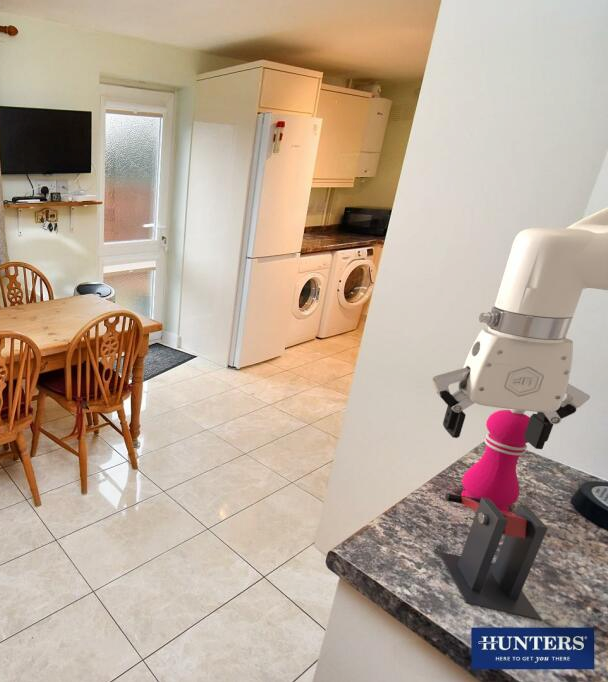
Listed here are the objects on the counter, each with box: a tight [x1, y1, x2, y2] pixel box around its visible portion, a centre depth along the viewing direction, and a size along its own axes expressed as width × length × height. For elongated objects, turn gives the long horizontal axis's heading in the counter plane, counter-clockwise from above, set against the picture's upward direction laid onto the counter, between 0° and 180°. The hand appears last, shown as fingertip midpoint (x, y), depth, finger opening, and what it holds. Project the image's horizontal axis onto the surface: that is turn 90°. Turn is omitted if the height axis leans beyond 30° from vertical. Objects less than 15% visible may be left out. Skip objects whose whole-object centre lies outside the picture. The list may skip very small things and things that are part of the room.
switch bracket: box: [437, 498, 548, 622], centre depth 58 cm, size 9×8×13 cm
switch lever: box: [444, 492, 527, 538], centre depth 62 cm, size 13×4×2 cm, turn 162°
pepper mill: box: [460, 409, 531, 512], centre depth 73 cm, size 7×7×20 cm
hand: (490, 438), depth 64 cm, fingers open, 9 cm apart
